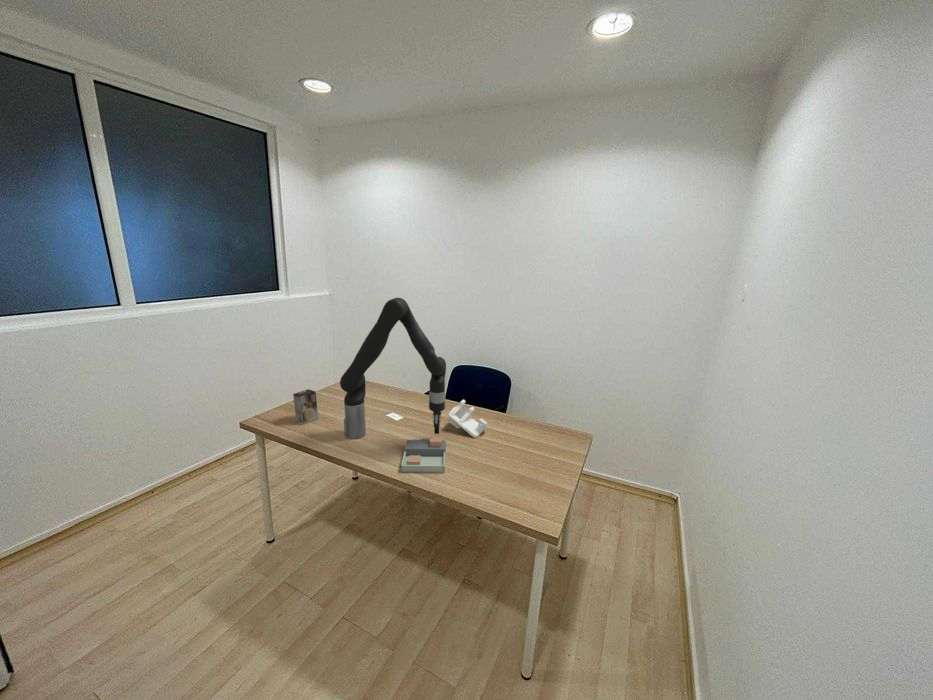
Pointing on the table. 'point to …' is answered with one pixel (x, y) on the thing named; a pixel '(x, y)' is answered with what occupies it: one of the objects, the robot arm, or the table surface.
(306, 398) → the coffee box
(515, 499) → the table surface
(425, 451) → the grey flat block
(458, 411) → the tape dispenser
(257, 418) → the table surface
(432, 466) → the tray
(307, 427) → the table surface
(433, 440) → the tile right
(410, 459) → the tile left
